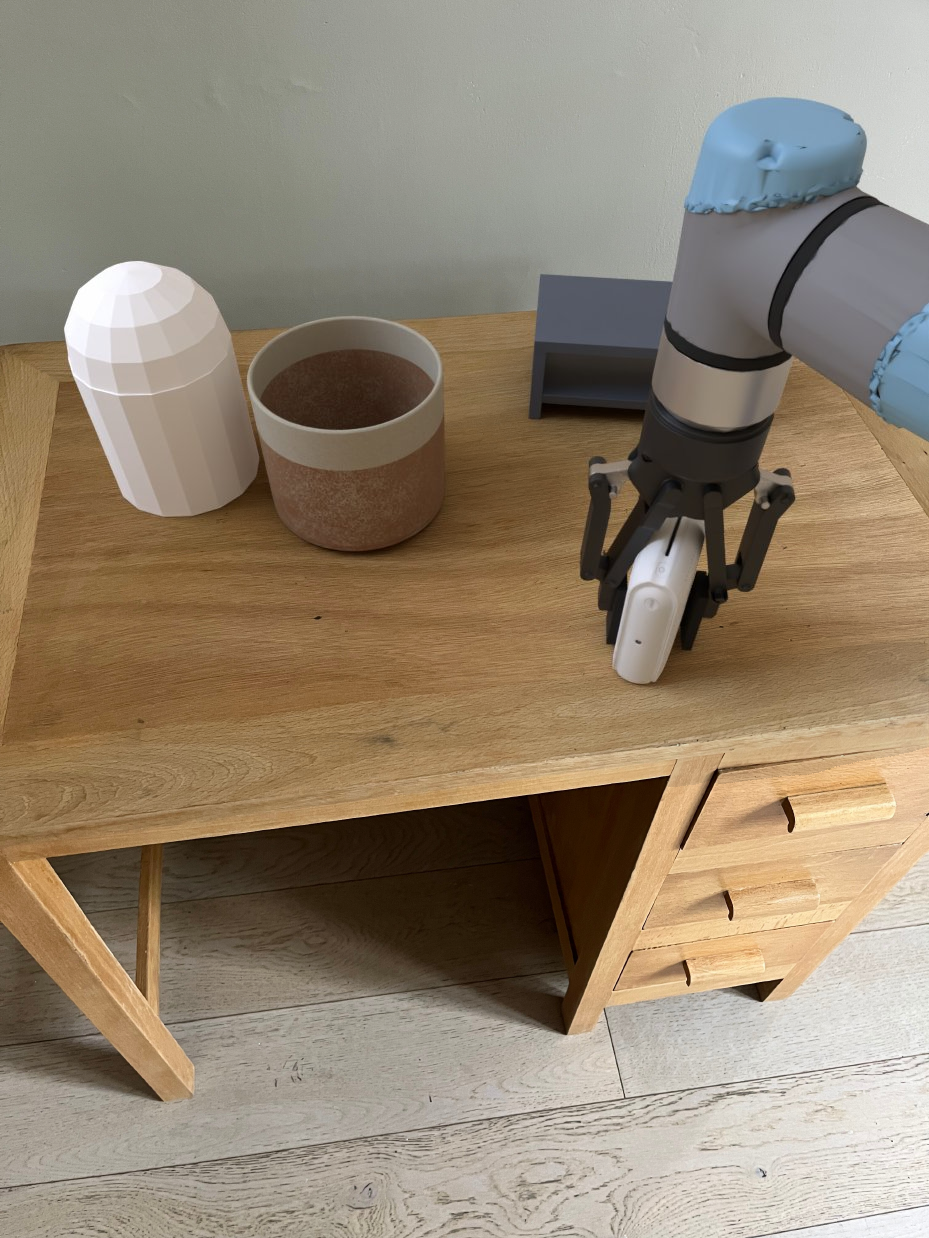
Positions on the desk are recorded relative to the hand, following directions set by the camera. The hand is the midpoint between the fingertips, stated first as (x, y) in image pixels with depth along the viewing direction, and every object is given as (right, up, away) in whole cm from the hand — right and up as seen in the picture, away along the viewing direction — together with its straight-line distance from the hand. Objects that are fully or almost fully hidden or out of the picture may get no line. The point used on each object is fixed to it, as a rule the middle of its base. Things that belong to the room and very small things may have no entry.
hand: (648, 633), depth 69 cm
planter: (-25, +13, +11) cm, 30 cm away
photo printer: (0, 0, 0) cm, 0 cm away
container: (-41, +16, +13) cm, 46 cm away
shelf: (+2, +25, +21) cm, 33 cm away
